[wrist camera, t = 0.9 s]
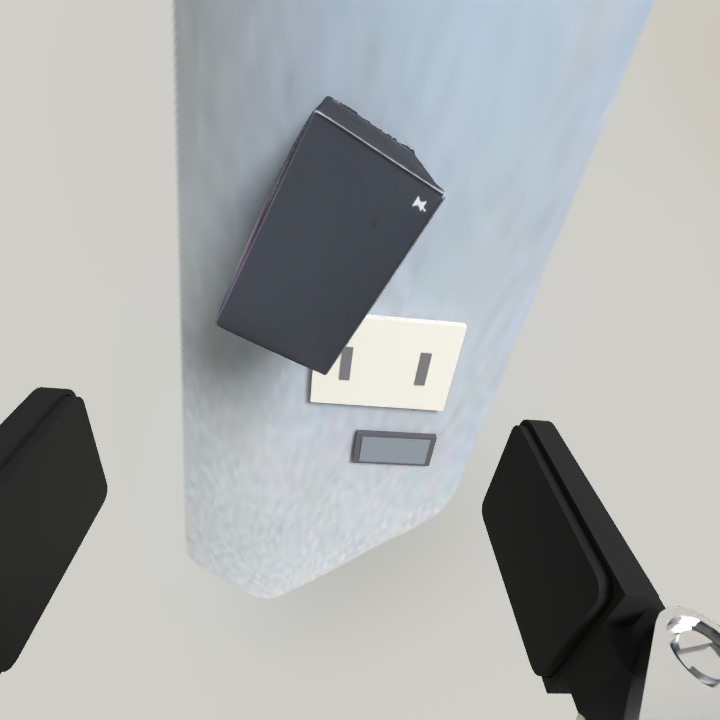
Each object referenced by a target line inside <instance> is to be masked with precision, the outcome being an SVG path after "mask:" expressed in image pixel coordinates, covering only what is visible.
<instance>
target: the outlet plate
mask: <svg viewBox="0 0 720 720" xmlns="http://www.w3.org/2000/svg"><path fill="white" fill-rule="evenodd" d="M466 329H467V326H466V324H465V323H459V322H447V321H436V320H424V319H413V318H402V317H390V316H379V315H366V317H365V318H364V320H363V321H362V323H361V324H360V326H359V328H358V329H357V331H356V332H355V333H354V335H353V336H352V338H351V339H350V341H349V343H348V344H347V345H346V347H345V348H344V350H343V351H342V353H341V354H340V356H339V357H338V359H337V360H336V362H335V363H334V365H333V366H332V368H331V369H330V370H329V372H328V373H327V374H326V375H323V374H321V373H319V372H316V371H314V370H313V372H312V386H311V400H310V402H319V403H334V404H349V405H364V406H378V407H393V408H408V409H423V410H438V411H443V409H444V405H445V402H446V398H447V395H448V391H449V388H450V384H451V381H452V377H453V374H454V370H455V367H456V364H457V360H458V357H459V353H460V350H461V346H462V343H463V339H464V336H465V332H466Z"/></svg>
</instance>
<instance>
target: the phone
mask: <svg viewBox="0 0 720 720" xmlns="http://www.w3.org/2000/svg"><path fill="white" fill-rule="evenodd" d="M435 442H436V434H422V433H404V432H387V431H369V430H357V433H356V440H355V447H354V454H353V462H355V463H376V464H397V465H419V466H429V463H430V460H431V456H432V453H433V449H434V445H435Z"/></svg>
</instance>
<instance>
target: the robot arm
mask: <svg viewBox="0 0 720 720" xmlns="http://www.w3.org/2000/svg"><path fill="white" fill-rule="evenodd" d="M106 494H107V482H106V479H105V475H104V472H103V468H102V465H101V461H100V458H99V454H98V450H97V447H96V443H95V440H94V436H93V433H92V429H91V425H90V422H89V418H88V415H87V411H86V408H85V404H84V401H83V399H82V398H80V397H76V395H75V393H74V392H73V391H72V390H70V389H58V388H43V387H40V388H37V389H35V390H34V391H33V392H32V393H31V394H30V395H29V396H28V397H27V398H26V399H25V400H24V401H23V402H22V403H21V404H20V405H19V406H18V407H17V408H16V409H15V410H14V411H13V412H12V414H10V415H9V416H8V417H7V418H6V419H5V421H4V422H3V423H2V424H1V425H0V673H1V672H5V671H7V670H8V669H10V668H11V667H12V666H13V664H14V663H15V662H16V660H17V659H18V657H19V655H20V653H21V651H22V650H23V648H24V646H25V644H26V642H27V640H28V639H29V637H30V635H31V633H32V631H33V629H34V628H35V626H36V624H37V622H38V621H39V619H40V617H41V615H42V613H43V612H44V610H45V608H46V606H47V604H48V603H49V601H50V599H51V597H52V595H53V593H54V591H55V590H56V588H57V586H58V584H59V582H60V581H61V579H62V577H63V575H64V573H65V572H66V570H67V568H68V566H69V564H70V563H71V561H72V559H73V557H74V555H75V553H76V552H77V550H78V548H79V546H80V545H81V543H82V541H83V539H84V537H85V535H86V534H87V532H88V530H89V528H90V526H91V524H92V523H93V521H94V519H95V517H96V516H97V514H98V512H99V510H100V508H101V506H102V504H103V503H104V500H105V498H106ZM482 515H483V520H484V522H485V525H486V529H487V532H488V535H489V538H490V541H491V544H492V547H493V550H494V554H495V556H496V560H497V563H498V566H499V569H500V572H501V575H502V578H503V581H504V584H505V587H506V590H507V594H508V597H509V599H510V603H511V606H512V609H513V612H514V615H515V618H516V621H517V624H518V627H519V630H520V633H521V636H522V640H523V643H524V646H525V649H526V652H527V655H528V658H529V661H530V664H531V667H532V669H533V671H534V672H535V674H536V675H538V676H542V679H543V682H544V685H545V688H546V691H547V693H569V694H572V697H573V699H574V702H575V705H576V708H577V710H578V716H577V720H720V625H718V624H717V623H715V622H714V621H713V620H711V619H710V618H708V617H706V616H704V615H702V614H700V613H698V612H696V611H694V610H691V609H687V608H683V607H668V608H665V607H664V605H663V603H662V602H661V600H660V599H659V595H658V594H657V592H656V590H655V589H654V587H653V586H652V584H651V582H650V581H649V579H648V577H647V576H646V574H645V573H644V571H643V569H642V568H641V566H640V564H639V563H638V561H637V559H636V558H635V556H634V554H633V553H632V551H631V550H630V548H629V546H628V545H627V543H626V541H625V540H624V538H623V537H622V535H621V533H620V532H619V530H618V528H617V527H616V525H615V524H614V522H613V520H612V519H611V517H610V516H609V514H608V512H607V511H606V509H605V508H604V506H603V504H602V502H601V501H600V499H599V498H598V496H597V495H596V493H595V491H594V489H593V488H592V486H591V485H590V483H589V481H588V480H587V478H586V476H585V475H584V473H583V471H582V470H581V468H580V467H579V465H578V463H577V462H576V460H575V459H574V457H573V456H572V454H571V452H570V451H569V449H568V447H567V446H566V444H565V442H564V441H563V439H562V437H561V436H560V434H559V432H558V431H557V429H556V428H555V426H554V425H553V424H552V423H551V422H549V421H538V420H523V421H522V422H521V424H520V425H519V426H514V427H513V429H512V431H511V434H510V436H509V439H508V441H507V444H506V446H505V449H504V451H503V454H502V456H501V459H500V461H499V464H498V466H497V469H496V471H495V474H494V476H493V479H492V481H491V483H490V486H489V488H488V491H487V493H486V496H485V498H484V501H483V504H482Z"/></svg>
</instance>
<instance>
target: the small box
mask: <svg viewBox="0 0 720 720" xmlns="http://www.w3.org/2000/svg"><path fill="white" fill-rule="evenodd" d="M444 199H445V194H444V191H443V189H441V188H440V187H439V186H438V185H437V184H436V183H435V182H434V180H433V179H432V178H431V176H430V175H429V173H428V172H427V171H426V170H425V168H424V167H423V165H422V164H421V162H420V161H419V160H418V159H417V157H416V156H415V153H414V150H411V149H410V148H409V147H408V146H405V145H403V144H400V143H398V142H397V140H396V139H395V138H392V137H391V136H390V135H389V134H385V133H383V132H382V130H380V129H378V128H376V127H375V126H373V125H372V124H371V123H370V122H369V121H366V120H365V119H363V118H362V117H360V116H359V115H358V114H357V112H355V111H354V110H352V109H351V108H349V107H347V106H346V105H343V104H342V103H340V102H338V101H336V100H334V99H333V98H332V97H329V96H327V97H326V98H325V99H324V100H323V101H322V103H321V104H320V105H319V106H318V108H316V109H315V110H314V111H313V113H312V114H311V116H310V118H309V119H308V121H307V122H306V124H305V125H304V127H303V129H302V131H301V133H300V134H299V136H298V138H297V140H296V142H295V143H294V145H293V147H292V149H291V151H290V153H289V155H288V157H287V159H286V161H285V163H284V165H283V167H282V169H281V171H280V173H279V175H278V177H277V179H276V181H275V183H274V185H273V187H272V189H271V191H270V193H269V195H268V197H267V199H266V201H265V203H264V205H263V208H262V210H261V212H260V214H259V217H258V219H257V221H256V224H255V226H254V228H253V231H252V233H251V235H250V237H249V240H248V242H247V244H246V247H245V249H244V251H243V254H242V256H241V258H240V261H239V263H238V266H237V268H236V270H235V273H234V275H233V277H232V280H231V282H230V285H229V287H228V290H227V292H226V295H225V297H224V300H223V303H222V305H221V308H220V311H219V314H218V316H217V319H216V321H215V323H216V324H217V326H220V327H222V328H223V329H225V330H227V331H229V332H231V333H233V334H235V335H238V336H240V337H242V338H244V339H246V340H248V341H251V342H253V343H255V344H257V345H260V346H261V347H264V348H266V349H268V350H270V351H272V352H275V353H277V354H279V355H281V356H283V357H285V358H288V359H290V360H292V361H294V362H297V363H299V364H301V365H303V366H305V367H308V368H310V369H312V370H314V371H316V372H319V373H321V374H323V375H326V374H327V373H328V372H329V370H330V369H331V368H332V366H333V365H334V363H335V362H336V360H337V359H338V357H339V356H340V354H341V353H342V351H343V350H344V348H345V347H346V345H347V344H348V343H349V341H350V339H351V338H352V336H353V335H354V333H355V332H356V331H357V329H358V328H359V326H360V324H361V323H362V321H363V320H364V318H365V317H366V315H367V314H368V313H369V311H370V310H371V308H372V307H373V305H374V304H375V302H376V301H377V299H378V298H379V296H380V295H381V293H382V292H383V290H384V289H385V287H386V286H387V284H388V283H389V281H390V280H391V278H392V276H393V275H394V273H395V272H396V271H397V269H398V268H399V266H400V265H401V263H402V262H403V260H404V259H405V257H406V256H407V254H408V253H409V251H410V250H411V249H412V247H413V246H414V244H415V243H416V241H417V240H418V238H419V236H420V235H421V234H422V232H423V231H424V229H425V227H426V226H427V225H428V223H429V221H430V220H431V219H432V217H433V215H434V214H435V212H436V211H437V209H438V208H439V206H440V205H441V204H442V202H443V201H444Z"/></svg>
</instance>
